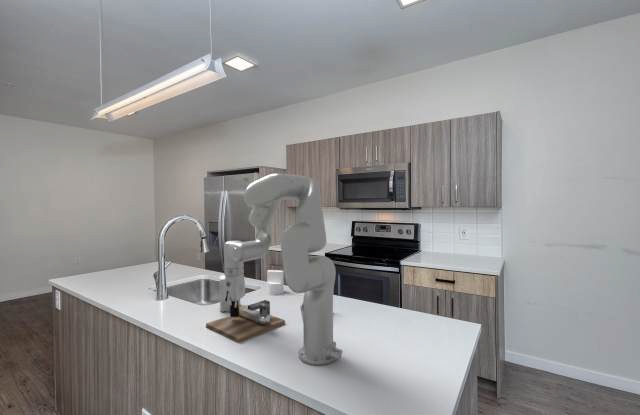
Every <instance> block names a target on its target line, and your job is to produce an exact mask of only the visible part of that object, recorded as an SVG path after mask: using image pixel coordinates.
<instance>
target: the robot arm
mask: <svg viewBox="0 0 640 415" xmlns="http://www.w3.org/2000/svg"><path fill="white" fill-rule="evenodd" d="M243 199H244V203H245V204H246V206H247V207H250V208H251V210H250V214H249V215H248V222H249V223H250V225H251V226H253V227H254V229H255V228H256V229H257V230H259V234H258V236H257V237H256V239H255V240H249V241H248V240H247V241H241V240H228V241H226V242H224V246H223V250H224V251H223V254H224V255H223V259H224V262H223V263H224V274H223V275H224V276H225V283H224V300H225V301H227V305H228V306H229V307H230V311H229V316H230V317H238V316H239V304H240V305H241V299H243V298H244V297H245V296H246V281H245V275H244V271H245V270H244V269H245V268H244V266H245V265H244V262H249V261H253V260H259V259H262V258H263V257H264V256H265V255H266V254H267V253H268V251H269V248H270V247H271V244H272V241H273V233H272V228H271V224H272V222H273V221H274V219H275V216H276V214H277V212H278V209H279V207H280V206H281V204H282V201H291V200H293V201H294V200H295V201H298V203H297V206H296V219H297V220H296V221H297V223H294V224H291V225H288V226H287V227H286V228H285V229H284V230H283V231H282V234H281V238H280V250H281V258H282V259H281V260H282V266H283V275H284V279H285V282H286V285H287V287H288V288H289V290H291V291H292V292H294V293H295V294H303V293H304V294H303V300H302V303H303V319H302V326H303V346H302V347H301V348H300V349H299V350H298V358H299V359H300V361H302V362H304V363H305V364H309V365H314V366H315V365H317V366H321V365H327V364H331V363H333V362H334V361H340V360H341V358H342V354H343V350H342V349H341V348H338V347H337V342H336V341H335V340H334V289H335V288H334V287H335V281H336V272H337V271H336V266H335V264H334V262H333V260H332V259H331V258H329V257H327V256H325V255H316V256H310V257H309V254H312V253H316V252H320V251H322V250H324V248H326V245H327V233H326V232H327V230H326V225H325V219H324V217H325V216H324V213H323V207H322V206H323V205H322V192H321V188H320V185H319V184H318V182H317V181H316V180H314V178H311V177H309V176H306V175H305V176H304V175H299V174H291V173H276V172H275V173H271V174H268V175H266V176H264V177H262V178H260V179H258V180H255V181H253V182H251V183H250V184H249V185H248V186H247V188H245V190H244V194H243Z"/></svg>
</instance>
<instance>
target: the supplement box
mask: <svg viewBox="0 0 640 415" xmlns="http://www.w3.org/2000/svg"><path fill="white" fill-rule="evenodd" d="M224 283H225V276H224V274H222V275H219V304H220V306H219V307H220V310H219V311H220V313H223V312H224V311H225V312H230V307H229V306H228V305H227V301H225V300H224ZM240 306H241V303H240V304H239V307H240Z"/></svg>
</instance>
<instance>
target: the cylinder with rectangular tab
mask: <svg viewBox="0 0 640 415" xmlns="http://www.w3.org/2000/svg"><path fill="white" fill-rule="evenodd" d="M284 279H285V274H284V270H277V269H274V270H273V269H268V270H267V271H266V294H267V293H268V294H267V295H269V294H270V296H279V295H283V294H284V291H285V288H284V287H285V286H284V284H285V282H284Z"/></svg>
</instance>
